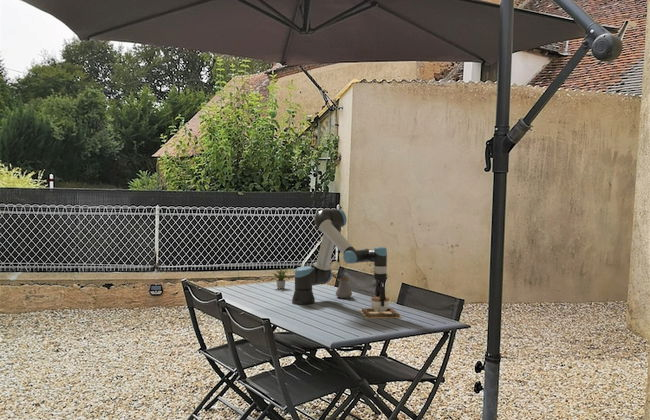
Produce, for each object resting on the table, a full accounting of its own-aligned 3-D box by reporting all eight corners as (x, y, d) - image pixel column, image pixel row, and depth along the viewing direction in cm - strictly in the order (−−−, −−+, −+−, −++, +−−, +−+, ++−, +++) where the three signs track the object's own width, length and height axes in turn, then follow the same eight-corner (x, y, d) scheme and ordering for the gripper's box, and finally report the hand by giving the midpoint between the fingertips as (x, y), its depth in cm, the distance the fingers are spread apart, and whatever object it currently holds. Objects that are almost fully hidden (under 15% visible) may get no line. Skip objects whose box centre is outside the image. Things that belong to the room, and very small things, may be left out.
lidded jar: (384, 308, 354) (384, 293, 354) (392, 312, 344) (392, 296, 344) (368, 310, 350) (368, 294, 350) (376, 313, 340) (376, 297, 340)
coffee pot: (355, 298, 399) (355, 276, 399) (341, 299, 393) (341, 277, 393) (337, 293, 417) (338, 272, 417) (324, 295, 411) (324, 273, 410)
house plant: (284, 286, 448) (284, 265, 448) (294, 288, 438) (294, 266, 437) (268, 288, 439) (268, 266, 439) (279, 290, 429) (279, 268, 428)
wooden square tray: (359, 310, 357) (359, 307, 357) (393, 310, 360) (393, 307, 360) (365, 318, 335) (365, 315, 335) (402, 317, 338) (402, 314, 338)
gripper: (370, 270, 358) (370, 305, 358) (378, 275, 335) (378, 313, 335) (382, 270, 358) (382, 305, 359) (391, 275, 335) (390, 313, 336)
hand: (380, 309), depth 347 cm, fingers closed on lidded jar, 11 cm apart
